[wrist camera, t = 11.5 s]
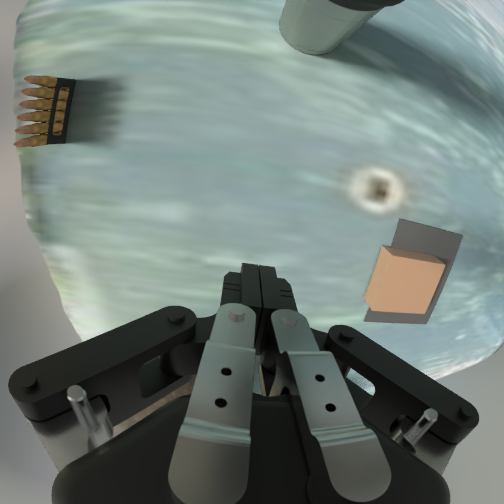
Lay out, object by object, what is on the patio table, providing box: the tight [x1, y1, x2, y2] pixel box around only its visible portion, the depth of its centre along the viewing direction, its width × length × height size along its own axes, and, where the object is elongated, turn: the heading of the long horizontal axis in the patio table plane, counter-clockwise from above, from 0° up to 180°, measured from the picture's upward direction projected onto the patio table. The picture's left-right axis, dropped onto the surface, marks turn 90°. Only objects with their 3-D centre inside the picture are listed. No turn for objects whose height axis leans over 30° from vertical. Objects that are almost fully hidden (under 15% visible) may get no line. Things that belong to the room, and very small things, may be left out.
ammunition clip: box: [14, 76, 76, 147], centre depth 29 cm, size 11×2×12 cm, turn 167°
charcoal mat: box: [364, 219, 463, 324], centre depth 47 cm, size 20×16×1 cm
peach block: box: [364, 246, 445, 314], centre depth 44 cm, size 10×4×12 cm
